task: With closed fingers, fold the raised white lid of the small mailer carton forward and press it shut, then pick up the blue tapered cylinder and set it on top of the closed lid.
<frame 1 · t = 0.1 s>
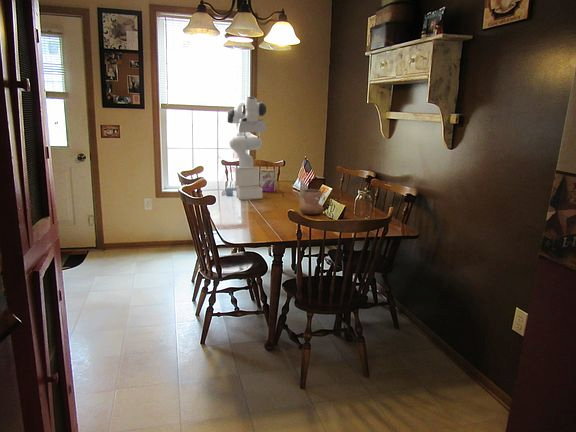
hand: (252, 138, 325), 39 cm above the table, tool pointing down, fingers open, 8 cm apart
blue tapered cylinder: (229, 194, 317), on the table
carton: (249, 197, 309), on the table
lid: (247, 176, 311), point 14 cm above the table, hinge at 95.0°
candy bar box: (267, 191, 332), on the table
ceramic jug: (311, 213, 268), on the table
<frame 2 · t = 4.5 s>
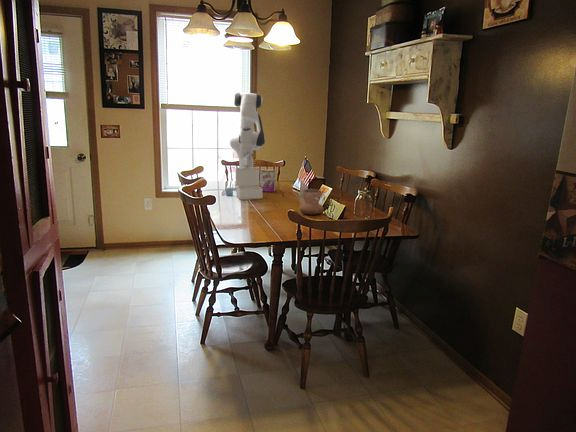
hand: (246, 170, 312), 18 cm above the table, tool pointing down, fingers closed
lid: (247, 176, 311), point 14 cm above the table, hinge at 89.8°, touching gripper
everything else where it was.
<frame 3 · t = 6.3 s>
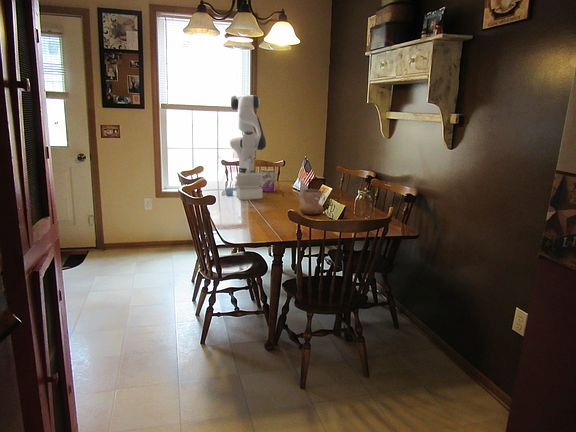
hand: (248, 175, 306), 16 cm above the table, tool pointing down, fingers closed
lid: (248, 180, 307), point 12 cm above the table, hinge at 50.0°, touching gripper
everything else where it was.
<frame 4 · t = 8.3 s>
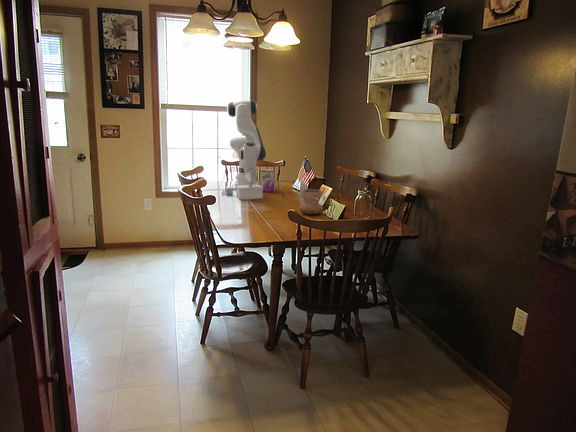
hand: (250, 186, 304), 8 cm above the table, tool pointing down, fingers closed, pressing on lid
lid: (249, 187, 307), point 7 cm above the table, hinge at 2.3°, touching gripper
everything else where it was.
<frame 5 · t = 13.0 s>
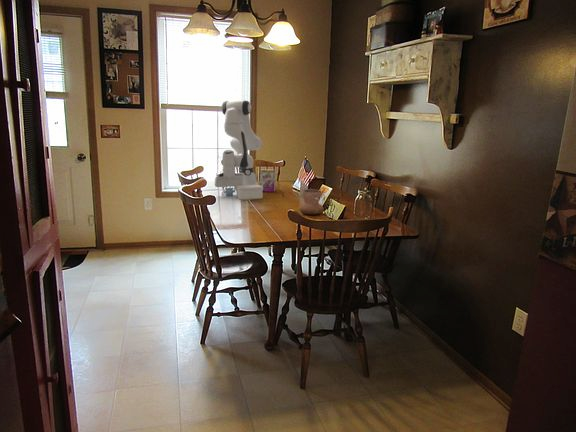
hand: (229, 192, 317), 2 cm above the table, tool pointing down, fingers closed on blue tapered cylinder, 5 cm apart
blue tapered cylinder: (229, 194, 317), on the table, touching gripper
lid: (249, 187, 307), point 7 cm above the table, hinge at 2.3°
everything else where it was.
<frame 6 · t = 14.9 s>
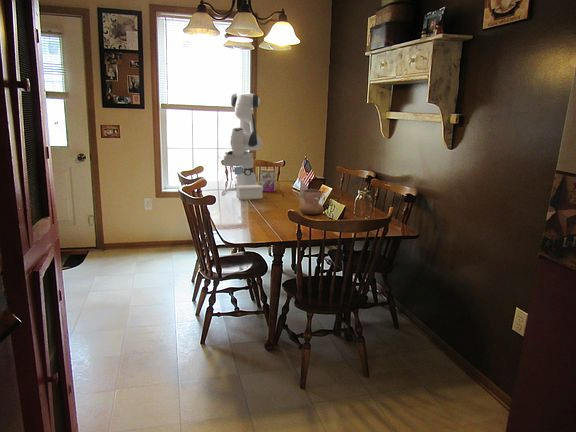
hand: (238, 171, 309), 18 cm above the table, tool pointing down, fingers closed on blue tapered cylinder, 5 cm apart
blue tapered cylinder: (238, 174, 309), point 16 cm above the table, touching gripper
everything else where it was.
when the fingers open (11 cm above the table, at t = 17.1 s): blue tapered cylinder stays where it is, resting on lid.
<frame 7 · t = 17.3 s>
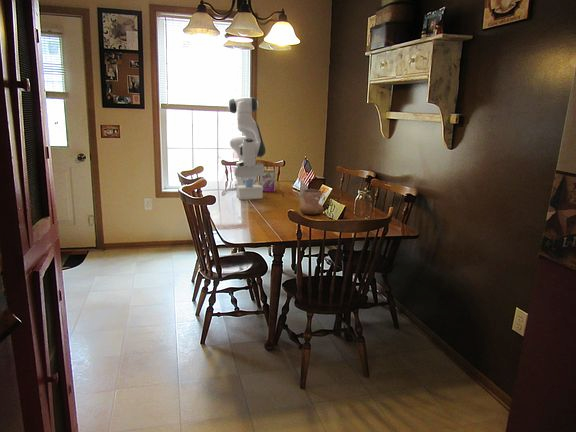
hand: (249, 182, 307), 11 cm above the table, tool pointing down, fingers open, 7 cm apart
blue tapered cylinder: (249, 186, 307), point 8 cm above the table, touching lid
lid: (249, 187, 307), point 7 cm above the table, hinge at 1.5°, touching blue tapered cylinder
everything else where it was.
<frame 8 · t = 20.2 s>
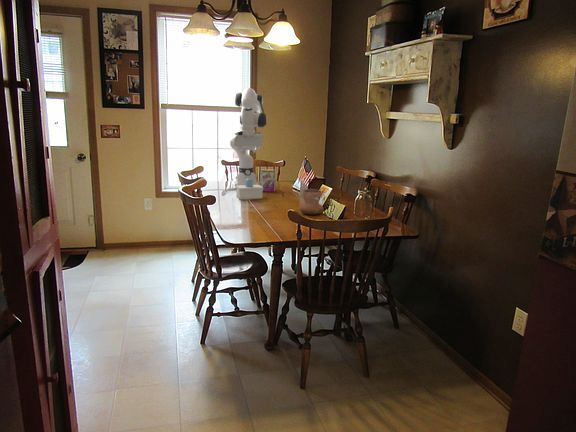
hand: (248, 152, 304), 31 cm above the table, tool pointing down, fingers open, 8 cm apart
nothing on the table moved.
at the end: lid at +2° (first picture: +95°); blue tapered cylinder inside the target area (0.2 cm from its centre), point 8.1 cm above the table; the gripper is holding nothing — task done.
